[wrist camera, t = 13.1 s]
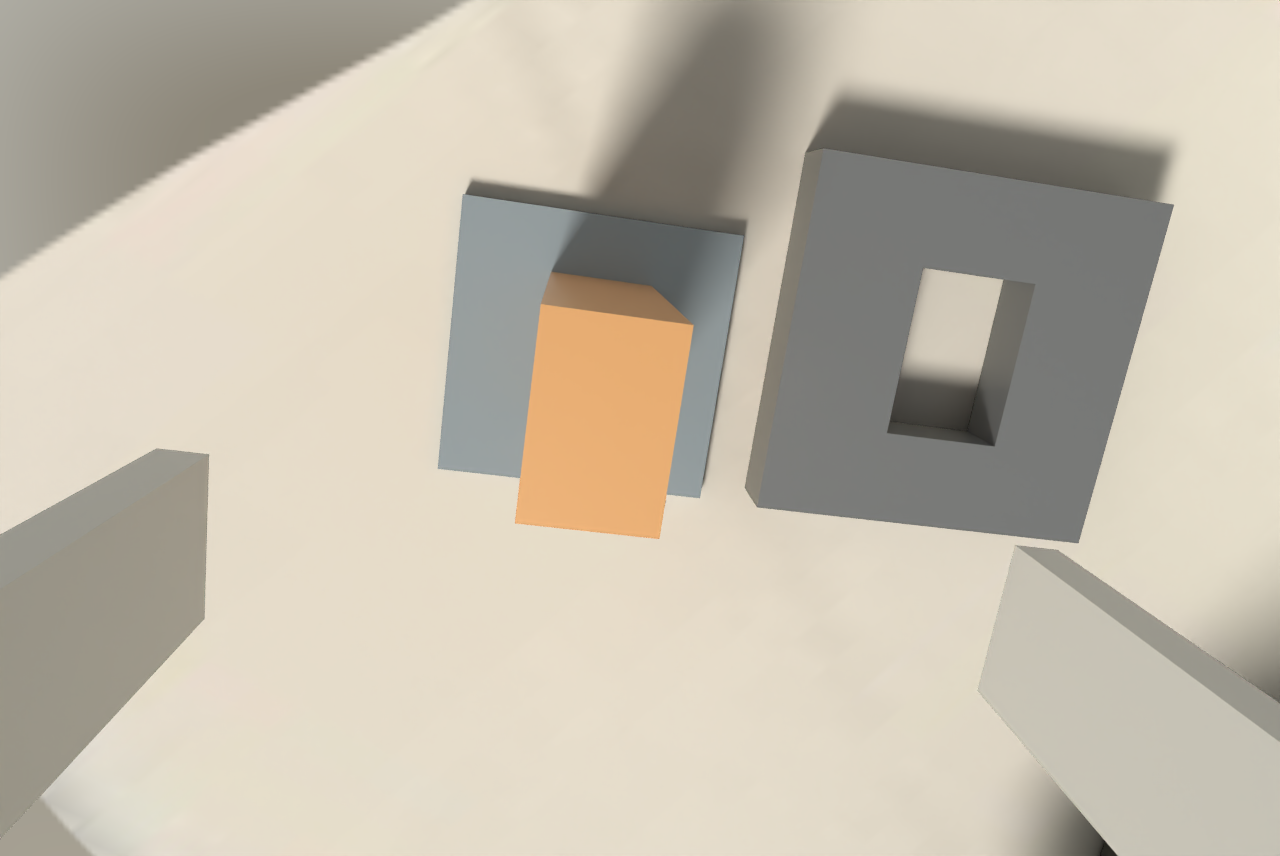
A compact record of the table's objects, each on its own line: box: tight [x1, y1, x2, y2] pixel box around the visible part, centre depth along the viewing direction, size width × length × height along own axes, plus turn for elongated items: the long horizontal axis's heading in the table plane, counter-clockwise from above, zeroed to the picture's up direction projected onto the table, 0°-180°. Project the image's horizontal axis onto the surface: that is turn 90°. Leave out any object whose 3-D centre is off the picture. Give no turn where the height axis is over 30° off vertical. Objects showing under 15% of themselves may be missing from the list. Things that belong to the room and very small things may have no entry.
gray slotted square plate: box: [745, 148, 1174, 543], centre depth 35 cm, size 14×14×2 cm
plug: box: [515, 272, 694, 539], centre depth 28 cm, size 4×6×12 cm, turn 172°
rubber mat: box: [438, 194, 744, 498], centre depth 35 cm, size 11×11×1 cm
